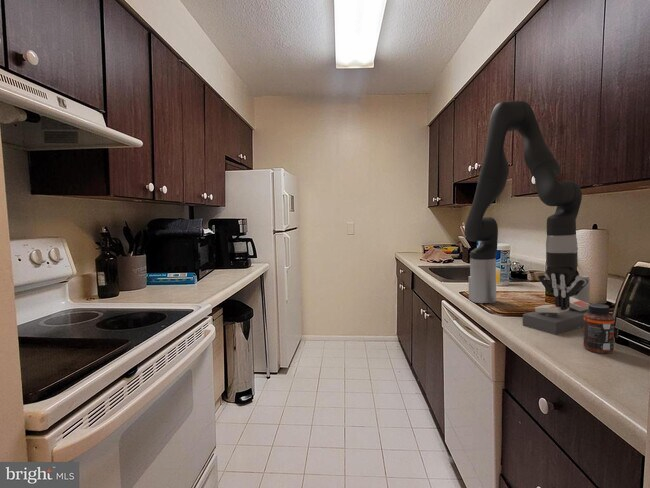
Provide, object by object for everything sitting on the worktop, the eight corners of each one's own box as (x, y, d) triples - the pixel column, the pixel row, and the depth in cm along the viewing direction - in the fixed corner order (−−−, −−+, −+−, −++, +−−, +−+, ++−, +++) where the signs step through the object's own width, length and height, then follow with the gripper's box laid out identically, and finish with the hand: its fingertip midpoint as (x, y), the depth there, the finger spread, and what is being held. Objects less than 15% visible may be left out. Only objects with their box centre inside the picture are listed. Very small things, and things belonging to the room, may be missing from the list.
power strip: (522, 325, 105) (522, 311, 105) (566, 313, 114) (566, 300, 114) (555, 334, 96) (555, 319, 96) (600, 321, 105) (600, 307, 105)
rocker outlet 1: (535, 311, 105) (534, 307, 105) (545, 309, 107) (544, 304, 107) (558, 312, 98) (557, 307, 99) (569, 310, 100) (567, 304, 101)
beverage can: (573, 311, 116) (573, 277, 115) (570, 308, 120) (570, 274, 119) (590, 312, 113) (591, 277, 112) (587, 309, 118) (587, 274, 117)
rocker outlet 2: (556, 301, 109) (557, 297, 109) (566, 299, 111) (567, 295, 111) (580, 311, 103) (581, 306, 103) (589, 308, 105) (590, 304, 105)
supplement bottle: (616, 356, 81) (616, 309, 80) (584, 352, 84) (585, 307, 83) (611, 347, 86) (612, 303, 85) (582, 343, 89) (582, 301, 88)
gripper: (530, 250, 103) (532, 306, 104) (578, 252, 91) (579, 316, 92) (546, 248, 106) (547, 303, 107) (595, 250, 94) (595, 312, 95)
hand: (562, 309), depth 100 cm, fingers closed
